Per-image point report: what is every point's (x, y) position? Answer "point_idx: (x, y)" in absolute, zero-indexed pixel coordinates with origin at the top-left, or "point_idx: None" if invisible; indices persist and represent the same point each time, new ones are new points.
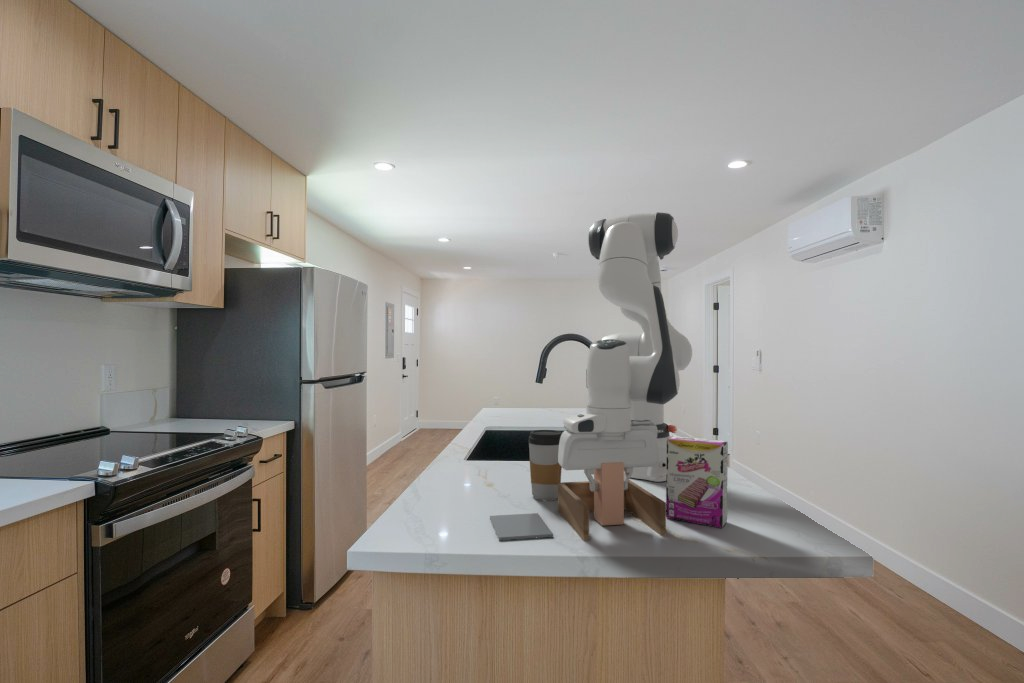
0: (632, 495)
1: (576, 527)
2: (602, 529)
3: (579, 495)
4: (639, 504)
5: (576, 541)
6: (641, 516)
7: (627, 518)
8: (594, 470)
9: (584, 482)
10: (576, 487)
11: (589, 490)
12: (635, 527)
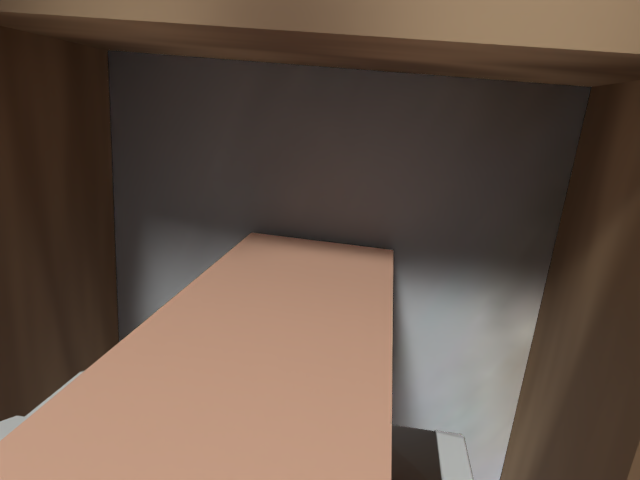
0: (627, 239)
1: None
2: None
3: (161, 39)
4: (573, 364)
5: None
6: (538, 357)
7: (467, 281)
8: (14, 445)
9: (150, 8)
10: (86, 22)
11: (242, 40)
12: (423, 421)
